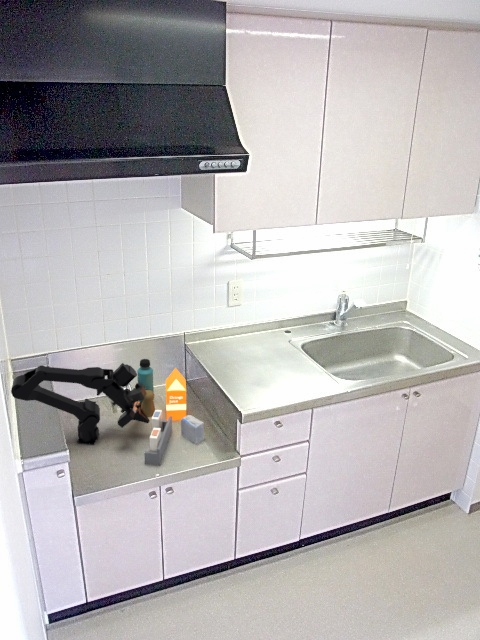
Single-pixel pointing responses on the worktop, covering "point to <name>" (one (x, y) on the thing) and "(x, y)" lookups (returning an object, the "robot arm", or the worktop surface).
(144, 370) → the beverage bottle
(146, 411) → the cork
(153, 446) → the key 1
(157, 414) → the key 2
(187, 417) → the medicine box
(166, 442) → the grey holder stand
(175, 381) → the orange juice
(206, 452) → the worktop surface
